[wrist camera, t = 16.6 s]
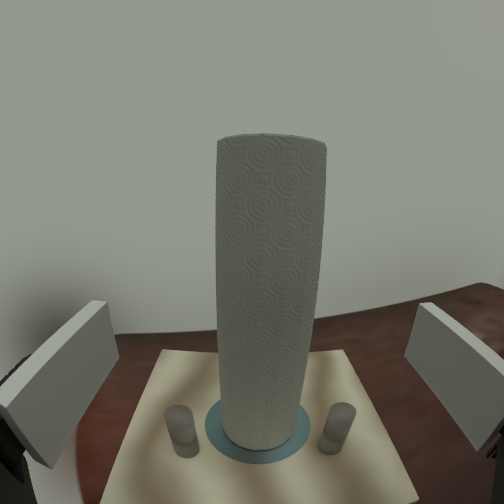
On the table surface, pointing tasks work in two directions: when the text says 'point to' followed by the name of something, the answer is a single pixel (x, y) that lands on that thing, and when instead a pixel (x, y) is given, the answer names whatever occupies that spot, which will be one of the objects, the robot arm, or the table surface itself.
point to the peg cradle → (255, 461)
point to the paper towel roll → (266, 279)
